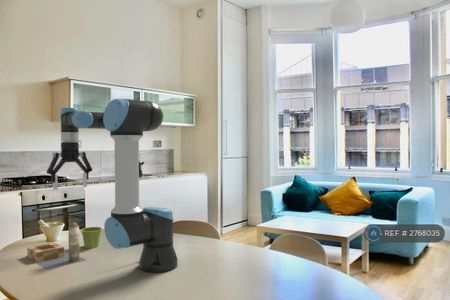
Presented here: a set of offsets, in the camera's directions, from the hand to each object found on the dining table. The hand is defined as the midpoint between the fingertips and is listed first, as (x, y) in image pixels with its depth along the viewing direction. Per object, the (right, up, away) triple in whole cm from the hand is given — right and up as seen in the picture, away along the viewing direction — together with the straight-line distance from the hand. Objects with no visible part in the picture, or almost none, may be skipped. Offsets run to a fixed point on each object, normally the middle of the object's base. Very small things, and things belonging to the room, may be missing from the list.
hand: (70, 188), depth 176 cm
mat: (0, -28, -15) cm, 32 cm away
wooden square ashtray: (-5, -28, -13) cm, 31 cm away
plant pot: (+9, -28, +2) cm, 30 cm away
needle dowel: (+9, -28, -19) cm, 35 cm away
